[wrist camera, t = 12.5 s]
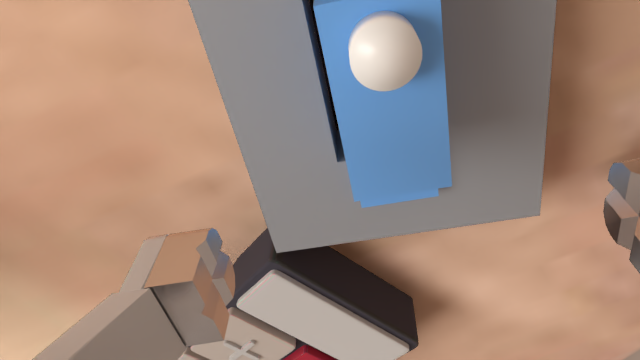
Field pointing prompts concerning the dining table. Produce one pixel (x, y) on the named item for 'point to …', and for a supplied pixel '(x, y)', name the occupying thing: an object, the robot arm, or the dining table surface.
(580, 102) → the dining table surface
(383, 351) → the calculator
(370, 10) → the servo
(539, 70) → the chassis deck
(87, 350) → the robot arm
